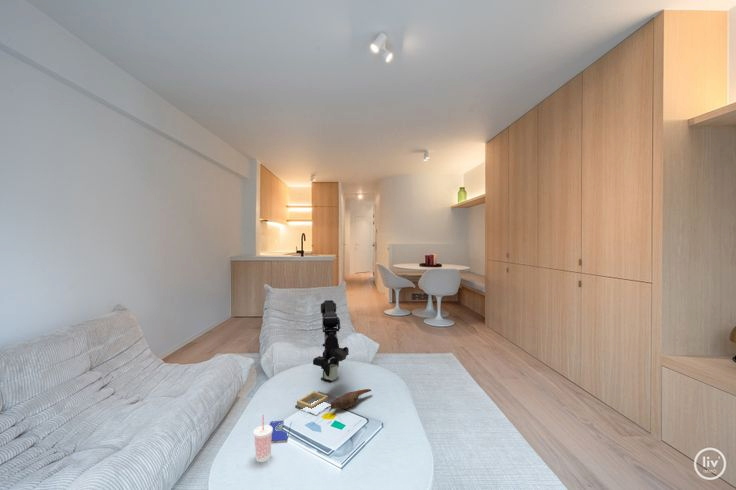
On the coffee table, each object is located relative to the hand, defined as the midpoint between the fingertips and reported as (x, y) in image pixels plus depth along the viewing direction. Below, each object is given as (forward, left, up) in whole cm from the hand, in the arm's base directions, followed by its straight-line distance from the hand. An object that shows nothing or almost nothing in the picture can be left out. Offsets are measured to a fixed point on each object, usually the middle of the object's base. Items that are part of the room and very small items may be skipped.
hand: (330, 374), depth 150 cm
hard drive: (+35, +4, -9) cm, 36 cm away
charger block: (0, 0, -2) cm, 2 cm away
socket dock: (+11, +2, -8) cm, 14 cm away
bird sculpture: (+4, +15, -9) cm, 18 cm away
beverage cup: (+47, +10, -9) cm, 49 cm away
